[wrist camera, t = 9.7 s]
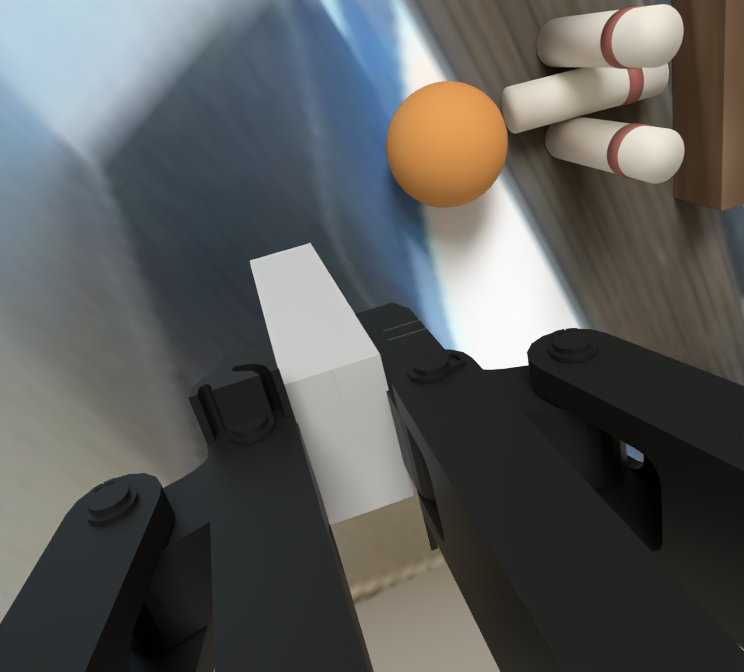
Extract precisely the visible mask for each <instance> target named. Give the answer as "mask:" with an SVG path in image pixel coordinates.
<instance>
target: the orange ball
mask: <svg viewBox="0 0 744 672" xmlns="http://www.w3.org/2000/svg"><path fill="white" fill-rule="evenodd" d="M507 148H508V137H507V129H506V125H505V122H504V119H503V117H502V115H501V113H500V111H499V109H498V108H497V106H496V105H495V103H494V102H493V101H492V100H491V99H490V98H489V97H488V96H487V95H486V94H485V93H483V92H482V91H480V90H478V89H477V88H475V87H473V86H471V85H468V84H465V83H461V82H453V81H446V82H437V83H433V84H430V85H427V86H425V87H423V88H421V89H419V90H417V91H416V92H414V93H413V94H411V95H410V96H409V97H408V98H407V99H406V100H405V101H404V102H403V103H402V104H401V105H400V107H399V108H398V109H397V111H396V113H395V114H394V116H393V118H392V121H391V123H390V126H389V129H388V134H387V139H386V153H387V160H388V164H389V167H390V169H391V172H392V174H393V176H394V178H395V180H396V181H397V183H398V184H399V185H400V186H401V188H402V189H403V190H404V191H405V192H406V193H407V194H409V195H410V196H411V197H413V198H414V199H416V200H418V201H420V202H422V203H424V204H427V205H431V206H435V207H454V206H459V205H463V204H466V203H468V202H471V201H473V200H474V199H476V198H478V197H479V196H481V195H482V194H483V193H485V192H486V191H487V190H488V189H489V188H490V187H491V186H492V184H493V183H494V182H495V181H496V179H497V178H498V176H499V174H500V172H501V170H502V168H503V166H504V163H505V159H506V155H507Z"/></svg>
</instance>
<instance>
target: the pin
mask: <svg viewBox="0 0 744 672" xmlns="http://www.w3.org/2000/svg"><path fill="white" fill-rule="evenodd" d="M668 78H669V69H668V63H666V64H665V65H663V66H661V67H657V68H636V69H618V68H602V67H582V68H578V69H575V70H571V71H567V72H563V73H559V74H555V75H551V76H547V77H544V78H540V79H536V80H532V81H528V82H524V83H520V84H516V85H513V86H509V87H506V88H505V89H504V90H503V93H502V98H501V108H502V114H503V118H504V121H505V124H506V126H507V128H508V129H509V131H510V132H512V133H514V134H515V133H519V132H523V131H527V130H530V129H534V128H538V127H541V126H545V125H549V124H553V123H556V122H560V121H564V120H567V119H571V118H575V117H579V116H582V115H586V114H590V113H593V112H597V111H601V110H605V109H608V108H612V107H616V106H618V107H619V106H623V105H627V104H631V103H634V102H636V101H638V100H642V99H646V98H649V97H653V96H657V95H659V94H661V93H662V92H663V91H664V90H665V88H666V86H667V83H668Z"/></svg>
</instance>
